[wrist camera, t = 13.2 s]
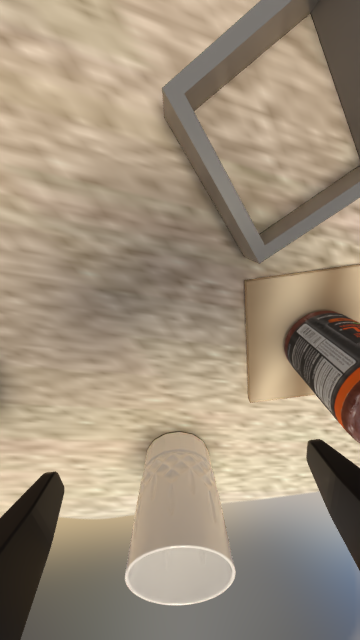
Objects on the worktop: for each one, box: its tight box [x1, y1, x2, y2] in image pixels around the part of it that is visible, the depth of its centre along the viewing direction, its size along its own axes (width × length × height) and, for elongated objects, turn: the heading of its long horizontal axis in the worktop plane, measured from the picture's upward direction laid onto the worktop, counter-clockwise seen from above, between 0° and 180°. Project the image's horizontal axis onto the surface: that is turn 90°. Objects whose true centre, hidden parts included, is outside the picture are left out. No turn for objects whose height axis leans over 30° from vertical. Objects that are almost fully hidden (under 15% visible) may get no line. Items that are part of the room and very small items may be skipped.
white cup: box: [125, 432, 235, 605], centre depth 22 cm, size 8×8×10 cm
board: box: [244, 264, 360, 403], centre depth 21 cm, size 12×12×1 cm
